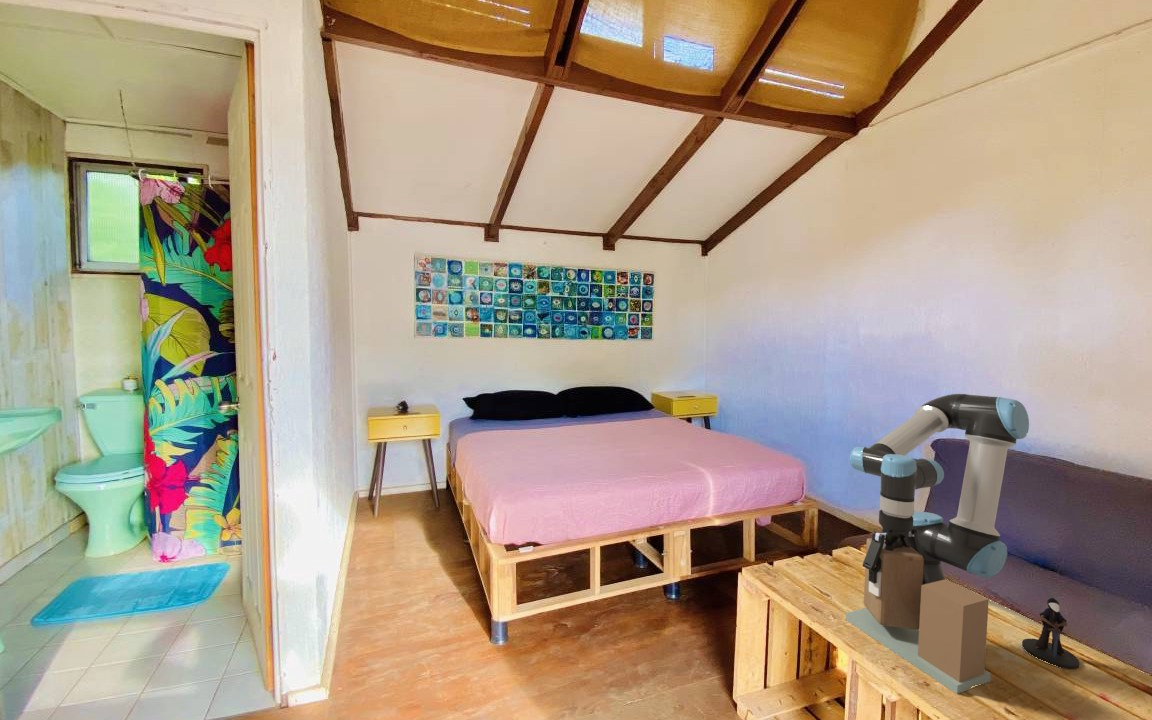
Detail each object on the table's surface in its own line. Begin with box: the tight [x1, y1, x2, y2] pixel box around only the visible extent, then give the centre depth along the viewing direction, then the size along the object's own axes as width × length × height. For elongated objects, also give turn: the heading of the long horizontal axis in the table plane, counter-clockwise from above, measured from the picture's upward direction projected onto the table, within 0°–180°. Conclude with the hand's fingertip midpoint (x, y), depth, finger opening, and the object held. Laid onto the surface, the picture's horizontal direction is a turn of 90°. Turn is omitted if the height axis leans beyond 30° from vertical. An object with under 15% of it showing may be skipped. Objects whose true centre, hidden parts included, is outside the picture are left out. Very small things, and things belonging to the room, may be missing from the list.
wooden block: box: [863, 537, 924, 630], centre depth 120 cm, size 10×10×20 cm
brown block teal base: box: [845, 578, 992, 695], centre depth 115 cm, size 12×28×20 cm, turn 19°
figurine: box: [1021, 597, 1081, 670], centre depth 113 cm, size 10×10×15 cm
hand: (892, 589), depth 120 cm, fingers closed on wooden block, 13 cm apart
